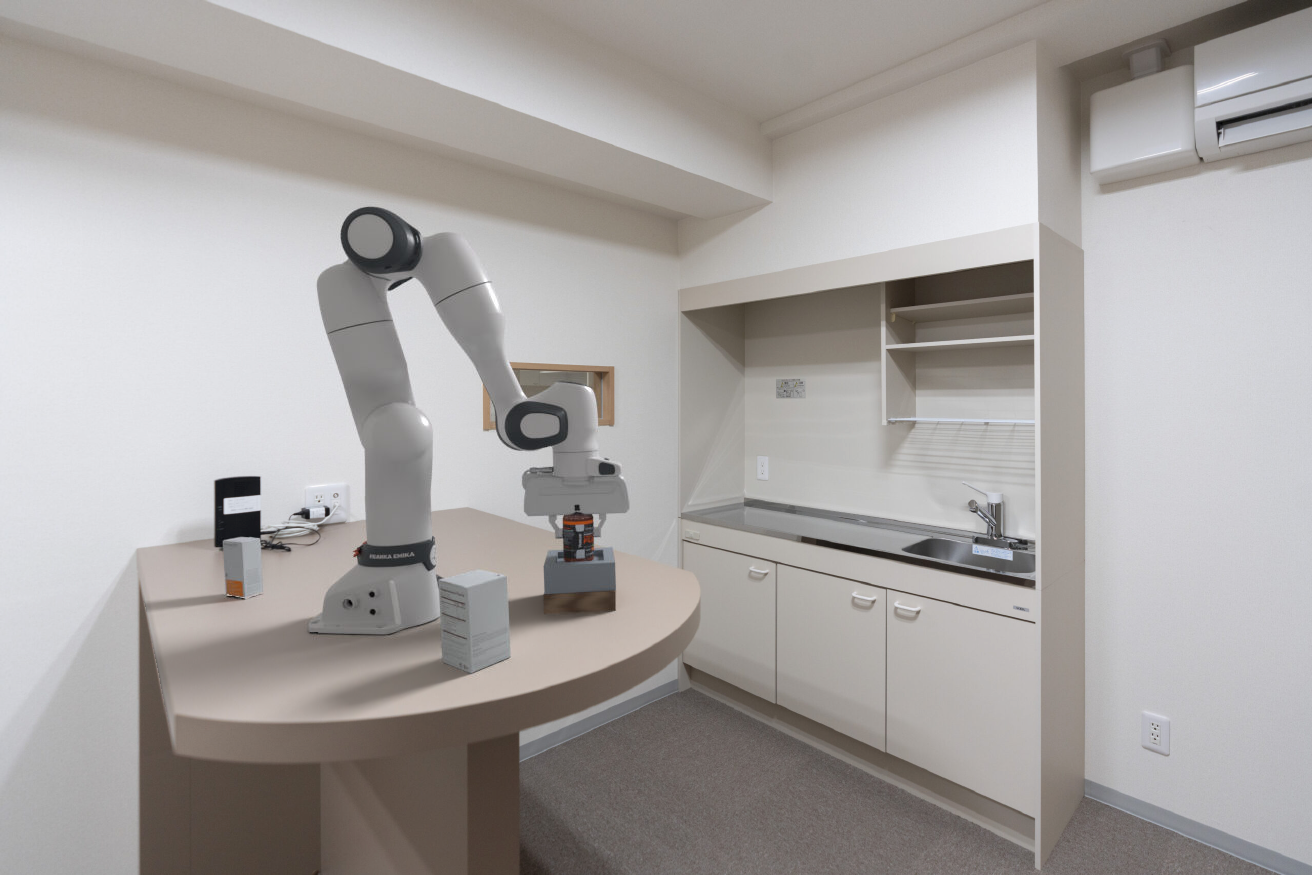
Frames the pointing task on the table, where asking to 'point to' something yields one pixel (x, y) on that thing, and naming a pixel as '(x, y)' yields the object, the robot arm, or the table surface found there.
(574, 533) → the supplement bottle
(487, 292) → the robot arm
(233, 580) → the skincare box
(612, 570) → the slate grey top slab
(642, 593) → the table surface
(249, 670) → the table surface
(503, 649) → the supplement box
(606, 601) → the walnut bottom slab
